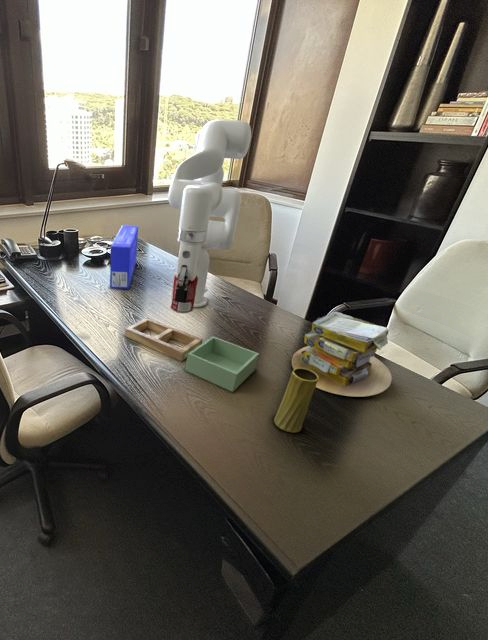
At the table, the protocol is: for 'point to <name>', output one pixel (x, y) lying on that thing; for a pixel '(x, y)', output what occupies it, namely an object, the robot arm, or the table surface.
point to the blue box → (123, 257)
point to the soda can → (191, 293)
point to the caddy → (163, 338)
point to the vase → (296, 400)
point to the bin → (221, 363)
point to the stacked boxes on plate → (345, 356)
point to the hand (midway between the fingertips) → (183, 296)
